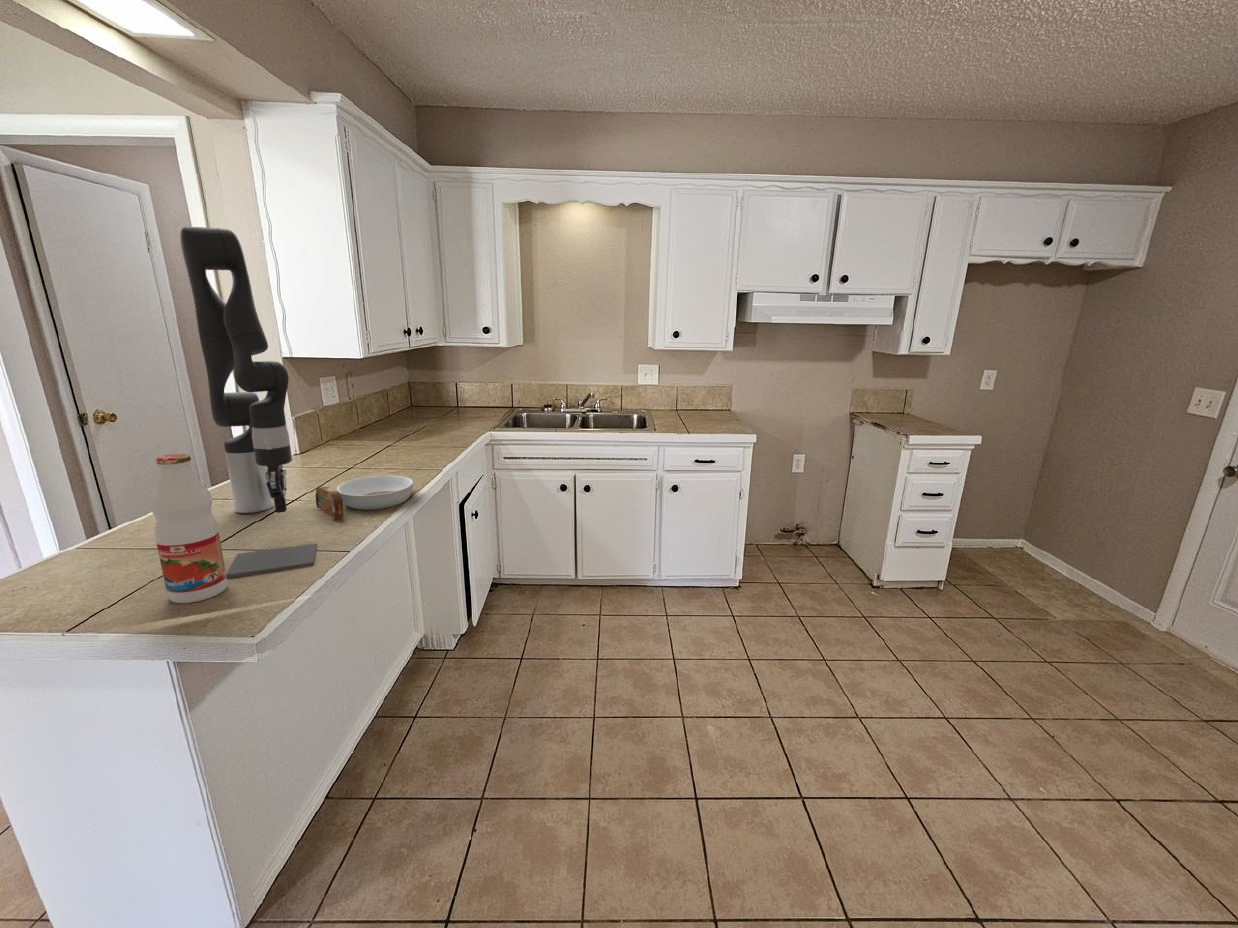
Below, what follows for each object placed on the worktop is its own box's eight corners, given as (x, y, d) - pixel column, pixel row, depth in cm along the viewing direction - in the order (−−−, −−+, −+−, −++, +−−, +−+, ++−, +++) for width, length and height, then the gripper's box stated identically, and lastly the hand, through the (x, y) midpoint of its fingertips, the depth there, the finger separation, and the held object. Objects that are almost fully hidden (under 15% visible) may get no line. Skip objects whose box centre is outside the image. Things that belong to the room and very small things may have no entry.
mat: (238, 556, 120) (237, 553, 120) (317, 546, 127) (317, 543, 127) (226, 578, 110) (225, 574, 109) (313, 565, 116) (313, 562, 116)
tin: (316, 512, 151) (312, 484, 149) (328, 510, 153) (324, 482, 151) (335, 525, 141) (331, 496, 139) (347, 522, 143) (344, 493, 141)
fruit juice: (237, 580, 109) (215, 450, 102) (212, 602, 100) (186, 461, 93) (186, 583, 107) (160, 451, 100) (156, 606, 98) (125, 462, 91)
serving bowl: (322, 513, 150) (319, 490, 149) (373, 493, 170) (371, 472, 168) (383, 521, 145) (381, 497, 143) (428, 499, 165) (427, 478, 163)
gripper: (258, 440, 132) (268, 505, 136) (248, 450, 120) (259, 521, 124) (292, 438, 135) (301, 502, 139) (286, 448, 123) (295, 517, 127)
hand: (281, 511), depth 131 cm, fingers closed
